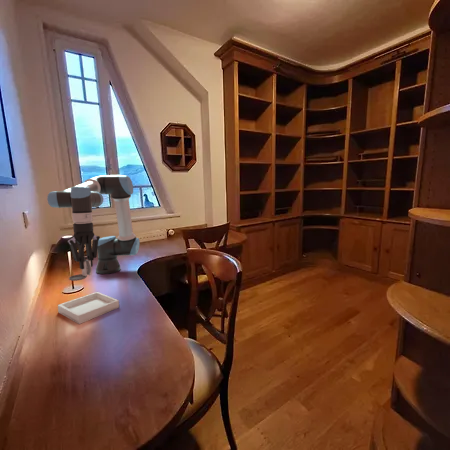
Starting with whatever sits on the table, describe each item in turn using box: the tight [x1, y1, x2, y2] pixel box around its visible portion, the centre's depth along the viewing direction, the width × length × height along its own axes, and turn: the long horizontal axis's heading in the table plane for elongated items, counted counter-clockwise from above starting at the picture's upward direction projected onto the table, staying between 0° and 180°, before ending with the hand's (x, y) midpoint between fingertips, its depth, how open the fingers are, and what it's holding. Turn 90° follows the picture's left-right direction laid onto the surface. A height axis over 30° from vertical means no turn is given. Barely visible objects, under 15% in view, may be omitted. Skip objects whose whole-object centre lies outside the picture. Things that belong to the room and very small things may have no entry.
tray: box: [57, 291, 120, 325], centre depth 114 cm, size 18×18×4 cm
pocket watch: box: [68, 254, 92, 282], centre depth 109 cm, size 8×8×10 cm
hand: (86, 274), depth 112 cm, fingers closed on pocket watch
